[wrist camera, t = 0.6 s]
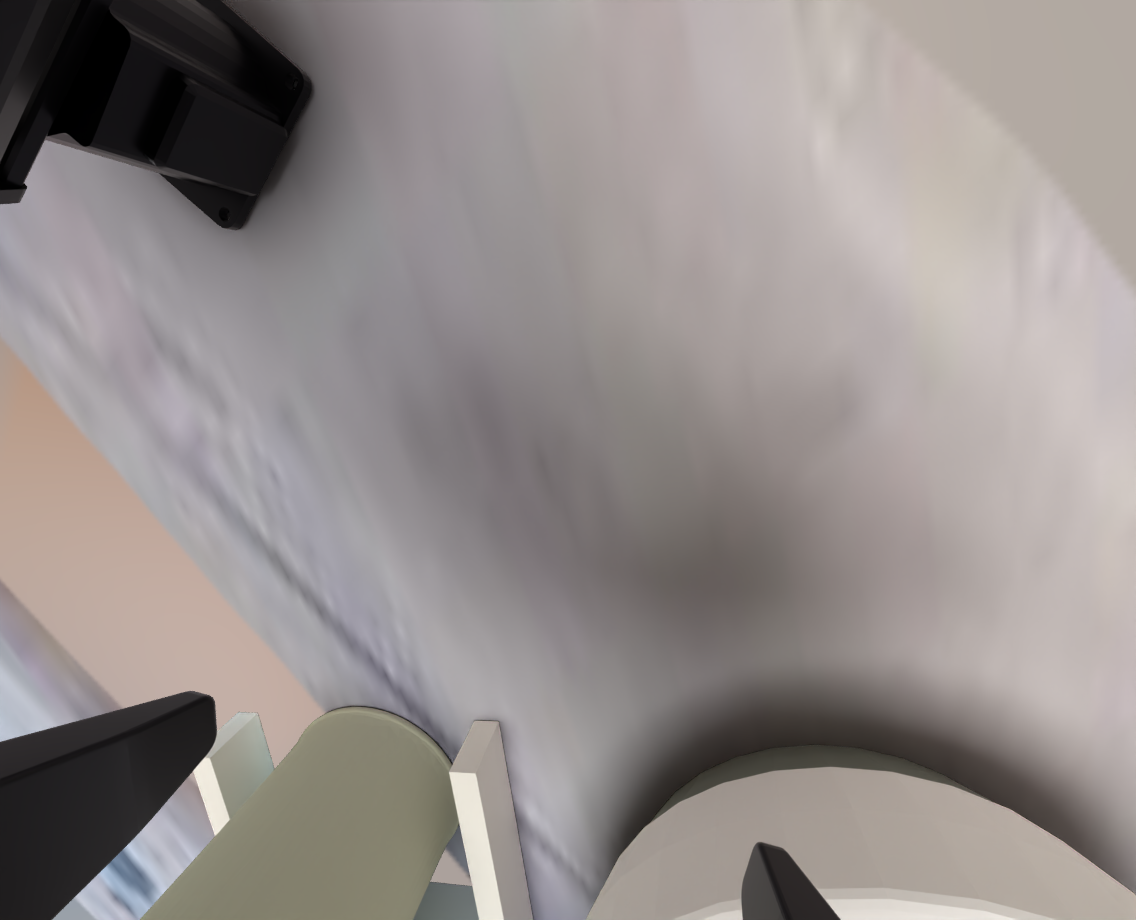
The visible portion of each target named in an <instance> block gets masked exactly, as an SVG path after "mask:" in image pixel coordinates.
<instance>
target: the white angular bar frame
mask: <svg viewBox="0 0 1136 920" xmlns="http://www.w3.org/2000/svg"><path fill="white" fill-rule="evenodd" d="M193 771H194V774H195V777H196V780H197V783H198V786H199V789H200V792H201V795H202V798H203V801H204V804H205V807H206V810H207V813H208V816H209V819H210V822H211V825H212V828H213V831H214V834H215V836H216V835H217V834H218V832H219V831H220V830H221V829H222V828H223V827H224V826H225V825H226V823H227V822H228V821H229V820H230V819H231V818H232V817H233V816H234V815H235V813H236V812H237V811H238V810H239V809H240V808H241V807H242V806H243V804H244V803H245V802H246V801H247V800H248V799H249V798H250V797H251V796H252V794H253V793H254V792H255V791H256V790H257V789H258V788H259V786H260V785H261V784H262V783H263V782H264V781H265V780H266V779H267V777H268V776H269V775H270V774H271V773H272V772H273V771H274V766H273V763H272V759H271V756H270V752H269V749H268V746H267V742H266V739H265V735H264V732H263V729H262V725H261V722H260V719H259V715H258V713H245V712H238V713H237V714H236V715H235V716H234V717H233V718H231V719H230V720H229V721H228V722H227V723H226V724H225V725H224V726H223V727H221V728H220V729H219V730H218V731H217V736H216V740H215V743H214V745H213V747H212V748H211V750H210V752H209V753H208V754H207V755H206V757H205V758H204V759H203V760H202V761H201V762H200V764H199V765H198V766H197V767H196V768H195V769H194V770H193ZM449 775H450V780H451V785H452V789H453V794H454V799H455V804H456V809H457V814H458V819H459V824H460V828H461V833H462V838H463V843H464V848H465V853H466V858H467V863H468V868H469V872H470V877H471V882H472V887H473V892H474V897H475V902H476V907H477V911H478V916H479V920H533V915H532V909H531V903H530V898H529V892H528V886H527V881H526V875H525V869H524V863H523V858H522V852H521V846H520V841H519V835H518V829H517V823H516V818H515V812H514V806H513V800H512V795H511V789H510V783H509V778H508V772H507V766H506V760H505V755H504V749H503V743H502V738H501V732H500V726H499V721H474V723H473V725H472V727H471V729H470V731H469V733H468V735H467V737H466V739H465V741H464V743H463V745H462V747H461V749H460V751H459V753H458V755H457V757H456V759H455V761H454V763H453V765H452V767H451V769H450V771H449Z"/></svg>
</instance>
